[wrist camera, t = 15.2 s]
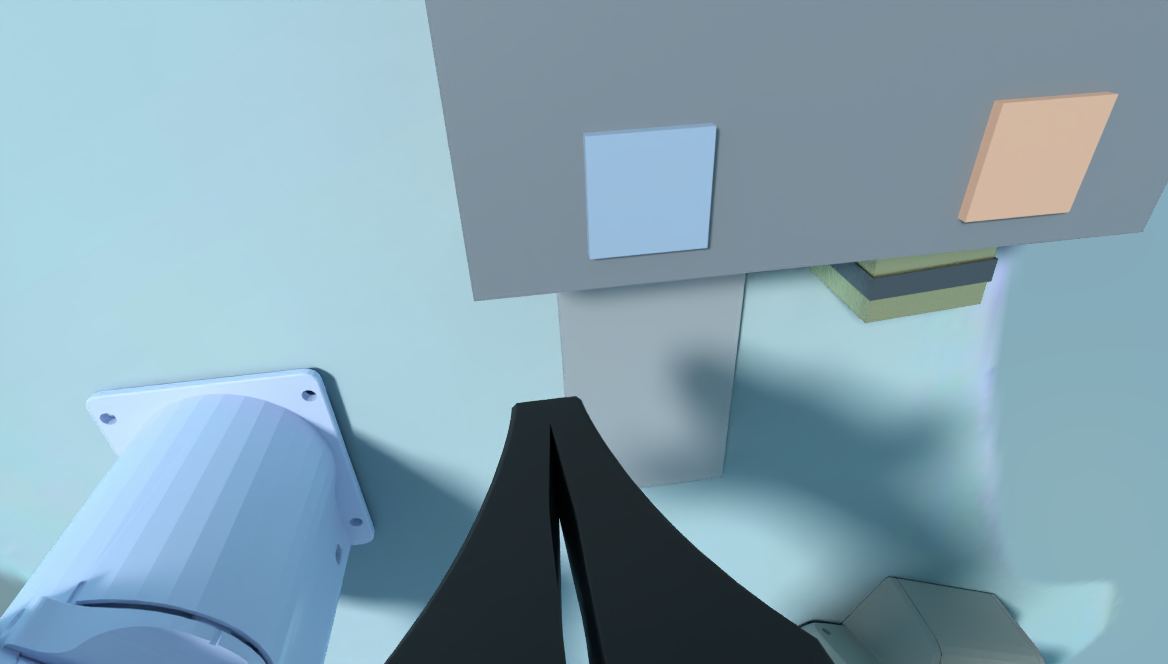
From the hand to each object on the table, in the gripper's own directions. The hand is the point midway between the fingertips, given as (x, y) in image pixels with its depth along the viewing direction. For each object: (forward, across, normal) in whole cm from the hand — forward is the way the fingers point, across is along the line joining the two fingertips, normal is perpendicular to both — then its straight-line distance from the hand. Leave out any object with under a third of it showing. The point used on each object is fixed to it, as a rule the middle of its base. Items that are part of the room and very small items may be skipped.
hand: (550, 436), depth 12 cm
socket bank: (+10, -8, -5) cm, 14 cm away
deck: (+10, -4, +7) cm, 13 cm away
